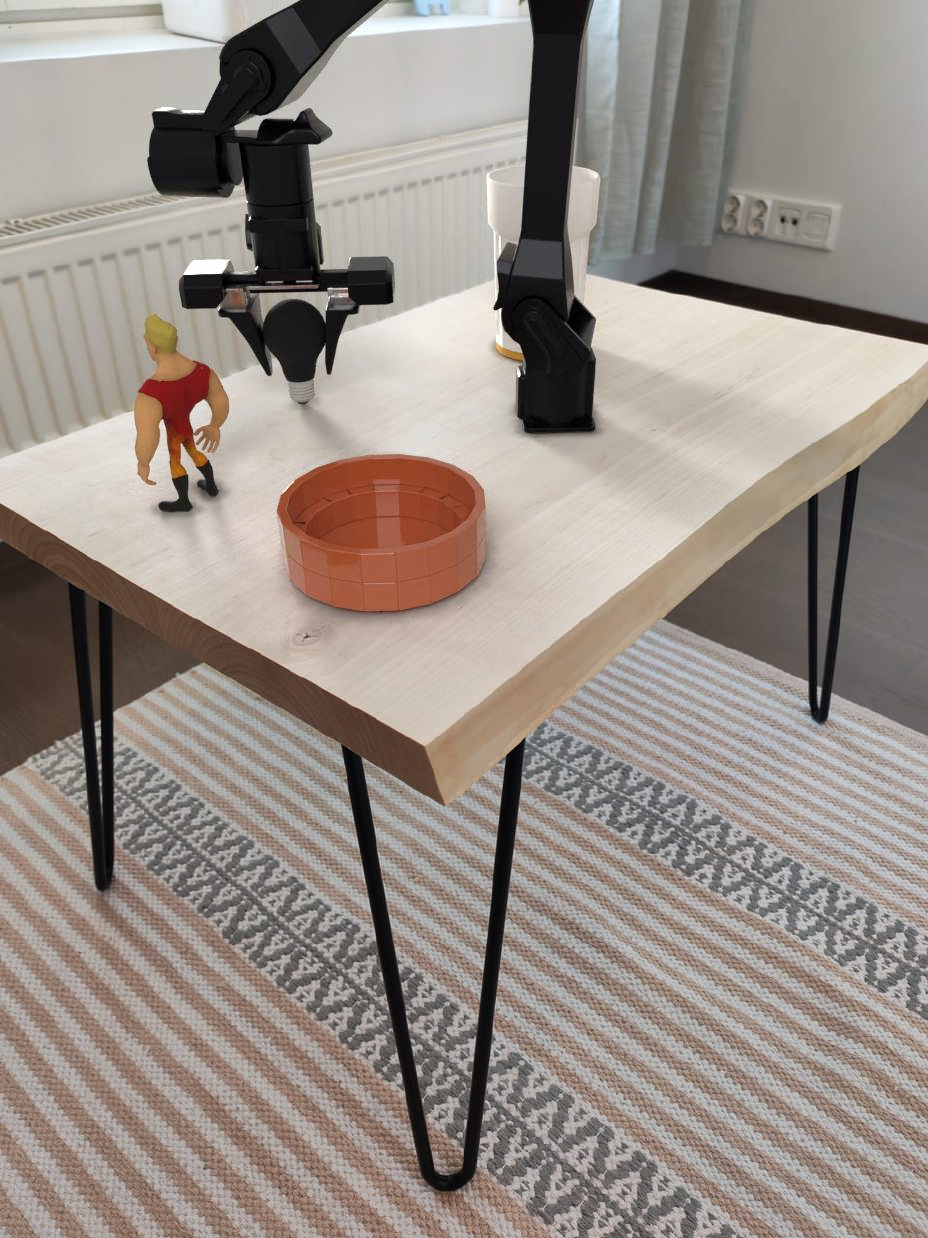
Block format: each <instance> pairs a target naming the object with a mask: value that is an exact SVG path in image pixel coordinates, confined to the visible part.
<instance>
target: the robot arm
mask: <svg viewBox="0 0 928 1238" xmlns="http://www.w3.org/2000/svg"><path fill="white" fill-rule="evenodd" d="M390 1H391V0H297V1H295V2H293V3H292V4H290V5H288V6H286V7H284V8H282V9H280V10H279V11H277V12H275V13H272V14H271V15H269V16H267V17H264V18H263V19H261V20H259V21H258V22H256V23H254V24H252V25H251V26H249V27H247V28H246V29H244V30H242V31H240V32H238V33H237V34H235V35H233V36H232V37H230V38H229V39H228V40H227V41H226V42H225V44H224V45H223V47H222V48H221V50H220V53H219V55H218V60H219V68H218V69H219V72H218V74H219V77H220V79H219V81H218V84H217V85H216V87H215V89H214V91H213V93H212V96H211V98H210V100H209V101H208V103H207V106H206V108H205V110H183V109H180V108H177V107H161V108H158V109H155V110H152V112H151V118H152V123H153V124H152V125H153V128H152V130H151V132H150V135H149V136H150V137H149V141H148V142H149V144H148V156H147V158H146V162H147V168H148V172H149V176H150V179H151V182H152V184H153V186H154V188H155V190H156V191H157V192H158V193H159V194H160V195H161V196H163V197H179V198H180V197H181V198H217V199H219V198H220V199H223V198H224V199H228V198H230V197H231V196H232V194H233V192H234V189H235V187H236V186H240V185H241V184H242V181H243V187H244V193H245V201H246V208H247V209H246V210H247V213H245V214H244V235H245V245H246V249H247V250H248V251H250V252H252V253H253V254H252V255H253V260H254V262H253V263H254V268H255V269H254V270H237V271H236V270H235V268H234V265H233V263H232V260H231V259H201V260H200V259H197V260H195V259H194V260H192V261H191V262H190V264H189V265H188V267H187V268H186V269H185V271H184V272H183V274H182V275H181V276H180V278H179V280H178V292H179V297H180V302H181V303H180V304H181V308H183V309H186V310H205V309H206V310H208V309H209V310H210V309H211V310H212V309H213V310H214V309H215V310H216V309H217V315H218V317H219V318H227V319H229V320H230V321H231V322H232V324H233V325H234V327H235V328H236V329H237V331H238V332H239V333H240V334H241V336H242V337H243V338H244V339H245V341H246V343H247V344H248V345H249V347H250V349H251V351H252V352H253V354H254V356H255V357H256V359H257V361H258V363H259V364H260V366H261V368H262V369H263V371H264V373H265V375H266V376H267V377H272V375H273V372H274V371H273V361H272V353H271V352H270V351H269V349H268V347H267V346H266V344H265V341H264V337H263V323H264V319H263V315H262V314H263V313H262V306H261V298H260V297H261V296H260V294H285V293H286V294H287V293H288V294H291V293H327V297H328V300H327V304H326V307H325V346H324V364H325V370H326V371H325V372H326V375H328V376H330V375H332V372H333V368H334V362H335V359H336V353H337V348H338V343H339V340H340V337H341V334H342V332H343V328H344V326H345V324H346V321H347V318H348V316H354V315H357V314H359V313H360V309H361V306H386V305H390V304H393V303H394V301H395V289H396V279H395V278H396V277H395V264H394V262H393V261H392V260H391V258H389V257H388V255H383V256H382V255H381V256H378V255H377V256H350V258H349V262H348V266H347V268H331V269H327V268H326V269H321V266H322V265H324V262H325V256H324V245H323V236H322V227H321V225H320V224H319V223H318V222H317V220H316V209H315V199H314V198H315V197H314V190H313V189H314V188H313V179H312V178H313V177H312V167H311V158H310V147H309V146H310V145H312V146H313V145H315V146H317V145H318V146H319V145H320V144H323V142H325V141H327V140H329V139H330V138H331V137H332V136H333V130H332V128H331V127H329V126H328V125H327V124H326V123H325V122H324V121H322V120H321V119H320V118H319V117H318V116H317V115H316V113H315V111H314V110H313V108H311V107H307V108H305V109H303V110H301V111H300V112H299V113H298V115H297V117H296V118H277V117H276V118H274V117H271V118H270V117H269V118H268V117H267V118H264V119H263V120H262V121H261V122H260V124H259V125H258V129H236V126H238V125H240V124H242V123H244V122H247V121H249V120H252V118H255V117H257V116H259V117H262V116H267V115H269V114H271V113H274V112H276V111H278V110H280V109H282V108H284V107H286V106H289V105H291V104H293V103H295V102H296V101H298V100H299V99H301V97H302V96H303V95H304V94H305V93H306V92H307V90H308V89H309V88H310V87H311V85H313V83H314V82H315V80H316V79H317V78H318V77H319V76H320V74H321V73H322V71H323V70H324V69H325V68H326V66H327V65H328V63H329V61H331V59H332V57H333V56H334V54H335V52H336V51H337V49H338V48H339V47H340V46H341V45H342V43H343V42H344V41H345V40H346V39H347V37H348V36H350V35H351V34H352V33H353V32H355V31H356V30H357V29H358V28H360V26H361V25H363V24H364V23H365V22H366V21H368V20H369V19H370V18H371V17H372V16H373V15H375V14H376V13H377V12H378V11H379V10H380V9H382V8H383V7H384V6H385V5H386V4H388V3H389V2H390ZM594 3H595V0H527V6H528V12H529V13H528V14H529V19H530V26H531V32H532V34H531V35H532V53H531V54H532V55H531V66H530V67H531V68H530V84H529V85H530V86H529V100H528V117H527V130H526V131H527V132H526V134H527V135H526V147H525V164H524V165H525V177H524V192H523V208H522V223H521V233H520V237H519V241H518V245H517V244H513V243H510V242H507V243H506V245H505V247H504V248H503V250H502V252H501V254H500V256H499V258H498V260H497V277H498V286H499V291H498V297H497V300H496V303H494V305H493V307H492V309H493V311H495V312H496V310H498V309H500V308H502V309H501V322H502V326H503V329H504V331H505V332H506V333H507V334H508V335H509V336H510V337H511V338H512V340H513V341H515V342H516V343H518V344H520V347H521V350H522V353H523V361H522V365H518V366H517V367H516V368H515V411H516V417H517V419H518V420H521V422H522V429H523V432H524V433H527V434H537V433H538V434H539V433H543V434H544V433H574V432H575V433H577V432H579V433H581V432H584V433H585V432H586V433H587V432H594V431H596V422H595V419H594V400H595V399H594V397H595V384H596V370H597V369H596V368H597V358H596V355H595V352H594V349H593V347H592V343H593V338H594V333H595V328H596V324H597V323H596V322H597V318H596V316H595V315H594V314H593V313H592V312H591V311H590V310H589V309H588V308H587V307H586V306H585V304H582V303H581V302H580V300H579V299H578V298H577V297H576V296H575V295H574V280H573V267H572V256H571V249H570V242H569V235H568V225H567V222H568V211H569V200H570V189H571V178H572V167H573V166H574V154H575V143H576V133H577V121H578V111H579V99H580V88H581V77H582V76H581V75H582V67H583V66H582V65H583V55H584V44H585V37H586V33H587V29H588V25H589V22H590V18H591V14H592V11H593V7H594ZM218 307H219V308H218Z"/></svg>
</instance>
